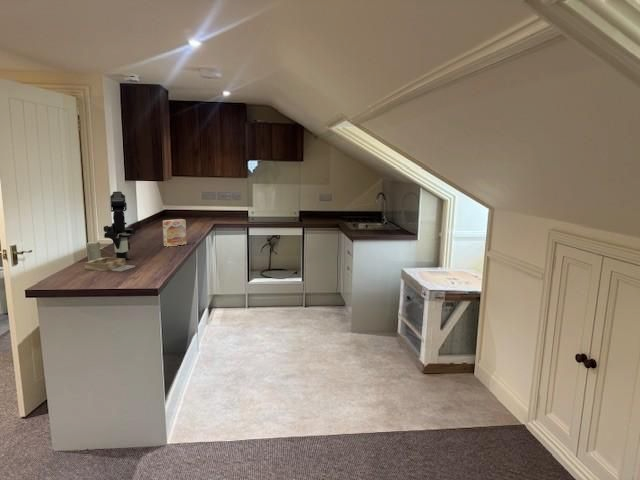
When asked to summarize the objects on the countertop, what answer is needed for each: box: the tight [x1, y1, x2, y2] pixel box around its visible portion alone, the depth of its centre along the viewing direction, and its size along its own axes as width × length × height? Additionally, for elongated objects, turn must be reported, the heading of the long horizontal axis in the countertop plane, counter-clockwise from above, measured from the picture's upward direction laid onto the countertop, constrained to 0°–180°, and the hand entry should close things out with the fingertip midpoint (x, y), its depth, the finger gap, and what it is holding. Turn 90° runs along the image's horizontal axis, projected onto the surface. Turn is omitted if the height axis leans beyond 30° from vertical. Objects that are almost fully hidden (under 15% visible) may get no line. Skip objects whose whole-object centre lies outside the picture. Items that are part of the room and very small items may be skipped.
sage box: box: [113, 237, 129, 253], centre depth 246 cm, size 5×5×8 cm
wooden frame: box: [84, 256, 127, 272], centre depth 252 cm, size 16×15×4 cm
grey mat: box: [111, 264, 136, 272], centre depth 249 cm, size 12×6×1 cm, turn 165°
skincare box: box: [85, 241, 102, 262], centre depth 265 cm, size 6×4×12 cm
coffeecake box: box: [162, 218, 188, 248], centre depth 317 cm, size 15×7×20 cm, turn 131°
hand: (121, 248), depth 247 cm, fingers closed on sage box, 5 cm apart
